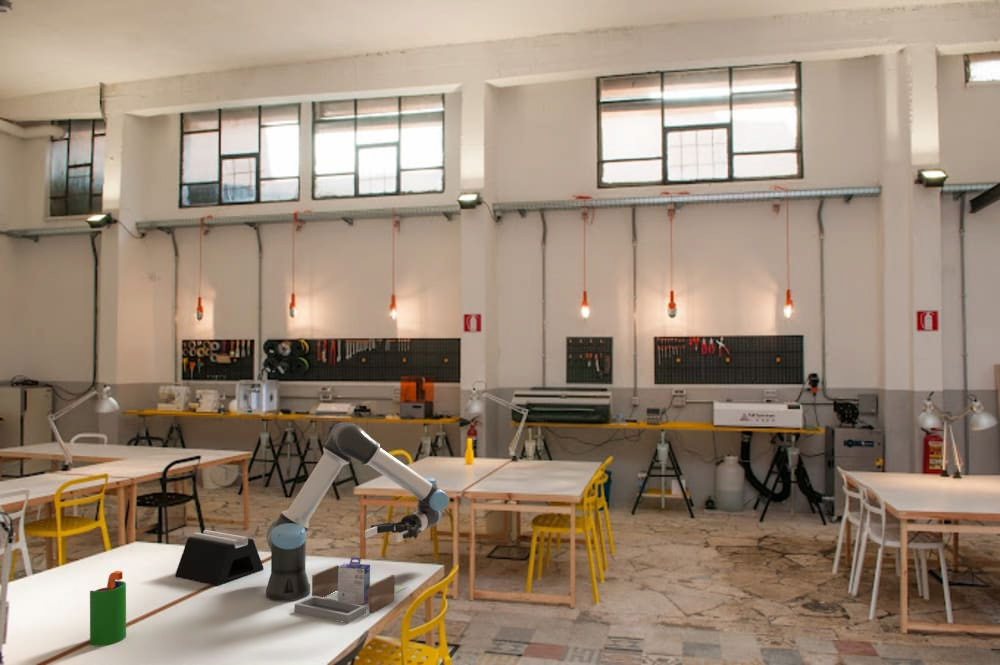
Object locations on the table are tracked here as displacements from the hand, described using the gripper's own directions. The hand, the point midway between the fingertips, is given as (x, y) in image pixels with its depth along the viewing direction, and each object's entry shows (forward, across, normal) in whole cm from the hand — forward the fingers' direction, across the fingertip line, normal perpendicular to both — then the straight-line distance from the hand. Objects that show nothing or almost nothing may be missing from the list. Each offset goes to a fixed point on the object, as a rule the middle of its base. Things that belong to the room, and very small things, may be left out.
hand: (380, 536), depth 268 cm
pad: (0, +1, -19) cm, 19 cm away
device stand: (+13, +66, -19) cm, 70 cm away
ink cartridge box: (+14, +1, -19) cm, 24 cm away
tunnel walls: (+15, +1, -19) cm, 24 cm away
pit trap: (+27, +1, -19) cm, 33 cm away
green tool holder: (+74, +45, -18) cm, 89 cm away
